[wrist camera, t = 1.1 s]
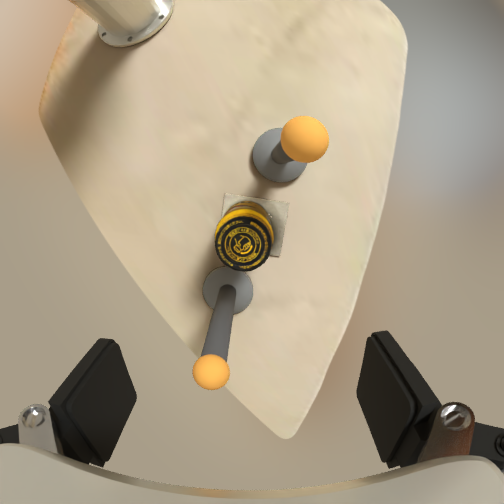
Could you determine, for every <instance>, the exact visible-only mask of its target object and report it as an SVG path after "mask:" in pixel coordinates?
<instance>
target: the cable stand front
mask: <svg viewBox="0 0 504 504" xmlns="http://www.w3.org/2000/svg"><path fill="white" fill-rule="evenodd" d="M328 144H329V136H328V133H327V130H326V128H325V127H324V125H323V124H322V123H321V122H319V121H318V120H317V119H315V118H312V117H309V116H299V117H295V118H293V119H291V120H290V121H288V122H287V123H286V124H285V126H284V127H283V128H275V129H271V130H268V131H267V132H265V133H263V134H262V135H261V136H260V137H259V138H258V140H257V141H256V143H255V145H254V148H253V161H254V164H255V167H256V168H257V170H258V171H259V172H260V174H261V175H263V176H264V177H265V178H267V179H269V180H271V181H275V182H287V181H291V180H293V179H295V178H297V177H298V176H299V175H300V174H301V173H302V172H303V171H304V169H305V168H306V165H307V163H310V162H313V161H316V160H318V159H319V158H321V157H322V156H323V155H324V154H325V152H326V150H327V148H328Z"/></svg>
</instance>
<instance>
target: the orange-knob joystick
mask: <svg viewBox="0 0 504 504" xmlns="http://www.w3.org/2000/svg"><path fill="white" fill-rule="evenodd" d="M203 296H204V299H205V301H206V302H207V304H208V305H209V306H210V307H211V308H212V309H213V310H214V311H213V314H212V318H211V321H210V325H209V329H208V332H207V336H206V340H205V343H204V347H203V351H202V354H201V357H200V358H199V359H198V360H197V361H196V362H195V364H194V366H193V377H194V379H195V381H196V382H197V384H198V385H199V386H201V387H202V388H204V389H208V390H215V389H219V388H221V387H223V386H224V385H225V384H226V383H227V381H228V379H229V376H230V370H229V366H228V364H227V356H228V349H229V341H230V334H231V327H232V320H233V314H236V313H239V312H241V311H243V310H244V309H245V308H247V306H248V305H249V304H250V302H251V300H252V297H253V285H252V282H251V280H250V278H249V276H248V275H247V274H246V273H245V272H244V271H236V270H233V269H231V268H229V267H228V266H223V267H219V268H217V269H215V270H213V271H212V272H211V273H210V274H209V275H208V276H207V278H206V280H205V282H204V285H203Z"/></svg>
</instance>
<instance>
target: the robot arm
mask: <svg viewBox="0 0 504 504" xmlns="http://www.w3.org/2000/svg"><path fill="white" fill-rule="evenodd" d="M69 1H70V2H71V3H73V4H74V5H75V6H76V7H78V8H79V9H80V10H82V11H83V12H84V13H85V14H87V15H88V16H89V17H90V18H92V19H93V20H94V21H95V22H97V23H98V33H99V36H100V38H101V39H102V40H103V41H104V42H105V43H107V44H108V45H111V46H114V47H126V46H130V45H134V44H137V43H139V42H142V41H144V40H145V39H147V38H149V37H151V36H152V35H153V34H155V33H156V32H157V31H158V30H160V29H161V28H162V27H163V26H164V24H165V23H166V22H167V21H168V19H169V18H170V16H171V14H172V11H173V7H174V0H69ZM357 398H358V400H359V403H360V406H361V408H362V411H363V413H364V416H365V418H366V421H367V424H368V426H369V428H370V431H371V434H372V437H373V439H374V442H375V445H376V447H377V450H378V453H379V455H380V458H381V461H382V462H384V463H385V462H386V463H387V465H388V468H389V469H390V468H393V467H396V466H399V465H400V467H401V468H399V469H395V470H392V471H388V472H385V473H381V474H377V475H373V476H368V477H364V478H359V479H355V480H349V481H344V482H339V483H333V484H327V485H320V486H313V487H304V488H293V489H280V490H218V489H217V490H216V489H204V488H194V487H185V486H177V485H171V484H165V483H159V482H154V481H148V480H144V479H139V478H134V477H130V476H126V475H122V474H118V473H115V472H111V471H107V470H104V469H101V468H97V467H94V466H91V465H89V463H91V464H94V465H97V466H100V467H103V466H104V464H105V462H106V461H109V459H110V457H111V455H112V453H113V450H114V448H115V446H116V444H117V442H118V439H119V437H120V435H121V433H122V430H123V428H124V426H125V424H126V421H127V420H128V417H129V415H130V413H131V411H132V409H133V406H134V405H135V402H136V399H137V395H136V391H135V389H134V386H133V384H132V381H131V378H130V376H129V373H128V370H127V367H126V365H125V362H124V359H123V356H122V353H121V350H120V347H119V345H118V344H117V343H116V342H115V341H114V340H113V339H105V338H100V339H98V340H97V342H96V343H95V344H94V345H93V347H92V348H91V349H90V350H89V351H88V352H87V354H86V355H85V356H84V357H83V358H82V360H81V361H80V362H79V363H78V365H77V366H76V367H75V368H74V369H73V371H72V372H71V373H70V375H69V376H68V377H67V378H66V379H65V381H64V382H63V383H62V385H61V386H60V387H59V388H58V390H57V391H56V392H55V394H54V395H53V396H52V397H51V399H50V400H49V401H48V402H49V404H50V406H51V407H50V408H49V409H48V408H47V407H46V406H44V405H42V404H33V405H30V406H28V407H26V408H25V409H24V410H23V411H22V412H21V413H20V415H19V419H18V424H16V425H13V426H9V427H6V428H2V429H0V504H504V429H503V428H498V427H493V426H489V425H485V424H481V423H477V422H475V416H474V413H473V411H472V410H471V409H470V407H468V406H467V405H465V404H463V403H460V402H449V403H446V404H444V405H441V403H440V401H439V400H438V398H437V397H436V396H435V394H434V393H433V391H432V390H431V388H430V387H429V385H428V384H427V382H426V381H425V380H424V378H423V377H422V375H421V374H420V373H419V371H418V370H417V368H416V367H415V366H414V364H413V363H412V362H411V361H410V360H409V358H408V357H407V356H406V354H405V353H404V352H403V350H402V349H401V347H400V346H399V345H398V343H397V342H396V341H395V340H394V338H393V337H392V335H391V334H390V333H389V332H388V331H380V332H374V333H372V335H371V337H368V338H367V341H366V348H365V353H364V358H363V363H362V368H361V373H360V377H359V382H358V386H357Z"/></svg>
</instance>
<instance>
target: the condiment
mask: <svg viewBox="0 0 504 504" xmlns="http://www.w3.org/2000/svg"><path fill="white" fill-rule="evenodd" d="M288 208H289V203H286V202H280V201H273V200H267V199H261V198H255V197H248V196H241V195H234V194H226V193H225V195H224V202H223V211H222V218H221V220H220V222H219V223H218V225H217V229H216V232H215V247H216V251H217V255H218V256H219V258H220V260H221V261H222V262H223V264H225V265H226V266H228V267H229V268H231V269H233V270H236V271H252V270H254V269H256V268H258V267H260V266H261V265H262V264H264V263H265V261H266V260H267V259H268V257H269V255H273V256H280V253H281V247H282V242H283V236H284V230H285V224H286V219H287V213H288ZM268 214H270V215H268ZM270 216H272V218H271V217H270Z"/></svg>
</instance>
